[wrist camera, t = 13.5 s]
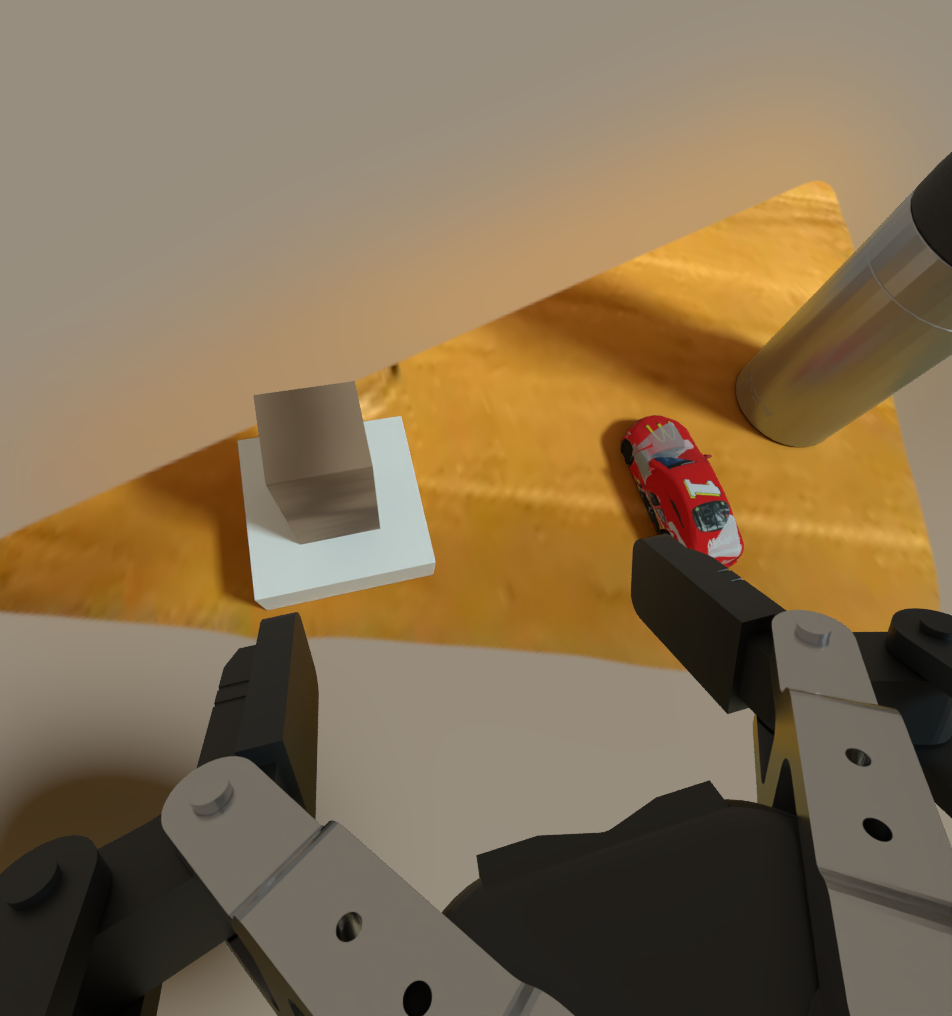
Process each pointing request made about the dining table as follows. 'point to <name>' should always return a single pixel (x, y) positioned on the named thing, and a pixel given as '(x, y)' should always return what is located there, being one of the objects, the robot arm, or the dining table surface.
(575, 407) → the dining table surface
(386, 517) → the riser
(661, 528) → the race car
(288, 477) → the walnut block
